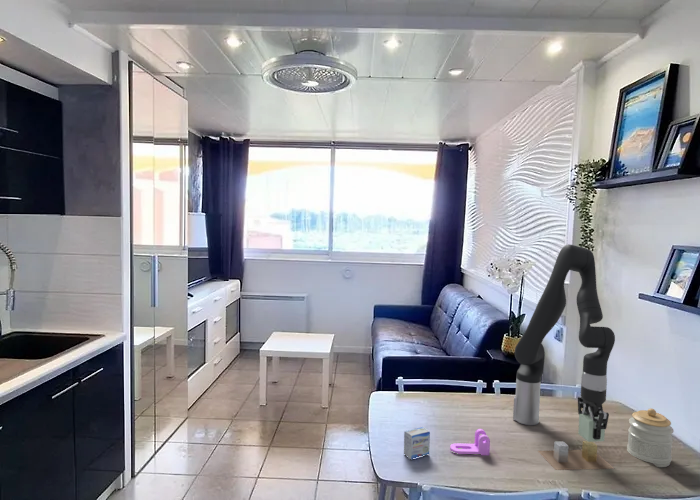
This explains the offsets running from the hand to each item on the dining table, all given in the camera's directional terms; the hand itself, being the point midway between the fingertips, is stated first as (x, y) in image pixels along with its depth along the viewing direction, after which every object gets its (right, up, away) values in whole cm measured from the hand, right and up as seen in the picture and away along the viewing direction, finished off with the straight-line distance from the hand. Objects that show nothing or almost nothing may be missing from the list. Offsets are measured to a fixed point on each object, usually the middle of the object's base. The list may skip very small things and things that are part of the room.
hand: (590, 434), depth 155 cm
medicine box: (-58, -9, +4) cm, 59 cm away
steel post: (-10, -8, 0) cm, 13 cm away
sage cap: (0, -1, 0) cm, 1 cm away
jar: (+23, -10, +5) cm, 25 cm away
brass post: (0, -9, +1) cm, 9 cm away
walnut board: (-5, -10, 0) cm, 11 cm away
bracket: (-39, -9, +8) cm, 41 cm away
